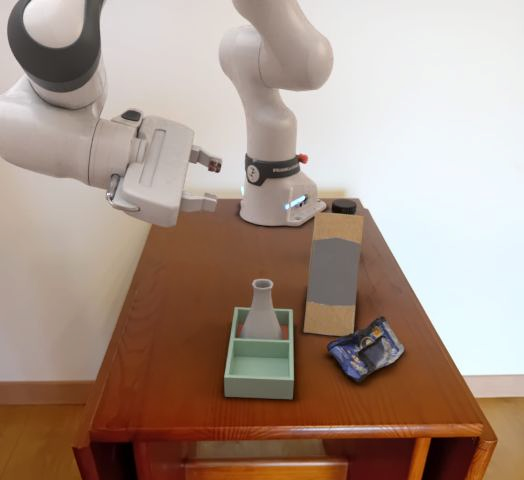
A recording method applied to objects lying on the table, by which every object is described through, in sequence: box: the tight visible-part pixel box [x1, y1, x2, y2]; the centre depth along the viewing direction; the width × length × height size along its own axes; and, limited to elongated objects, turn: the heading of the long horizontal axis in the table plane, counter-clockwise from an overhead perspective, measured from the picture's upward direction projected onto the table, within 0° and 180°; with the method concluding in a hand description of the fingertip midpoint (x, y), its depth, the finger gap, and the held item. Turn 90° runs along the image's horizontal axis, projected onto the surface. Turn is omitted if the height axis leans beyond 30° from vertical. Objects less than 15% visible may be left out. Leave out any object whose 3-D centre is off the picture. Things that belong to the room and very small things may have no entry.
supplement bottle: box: [330, 198, 358, 215], centre depth 108 cm, size 7×7×12 cm
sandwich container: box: [303, 211, 365, 337], centre depth 90 cm, size 9×15×15 cm, turn 172°
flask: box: [239, 278, 284, 340], centre depth 83 cm, size 7×7×10 cm
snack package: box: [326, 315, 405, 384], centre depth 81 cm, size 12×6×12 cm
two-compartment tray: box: [223, 306, 295, 400], centre depth 82 cm, size 18×10×4 cm, turn 178°
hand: (218, 184), depth 75 cm, fingers open, 8 cm apart
